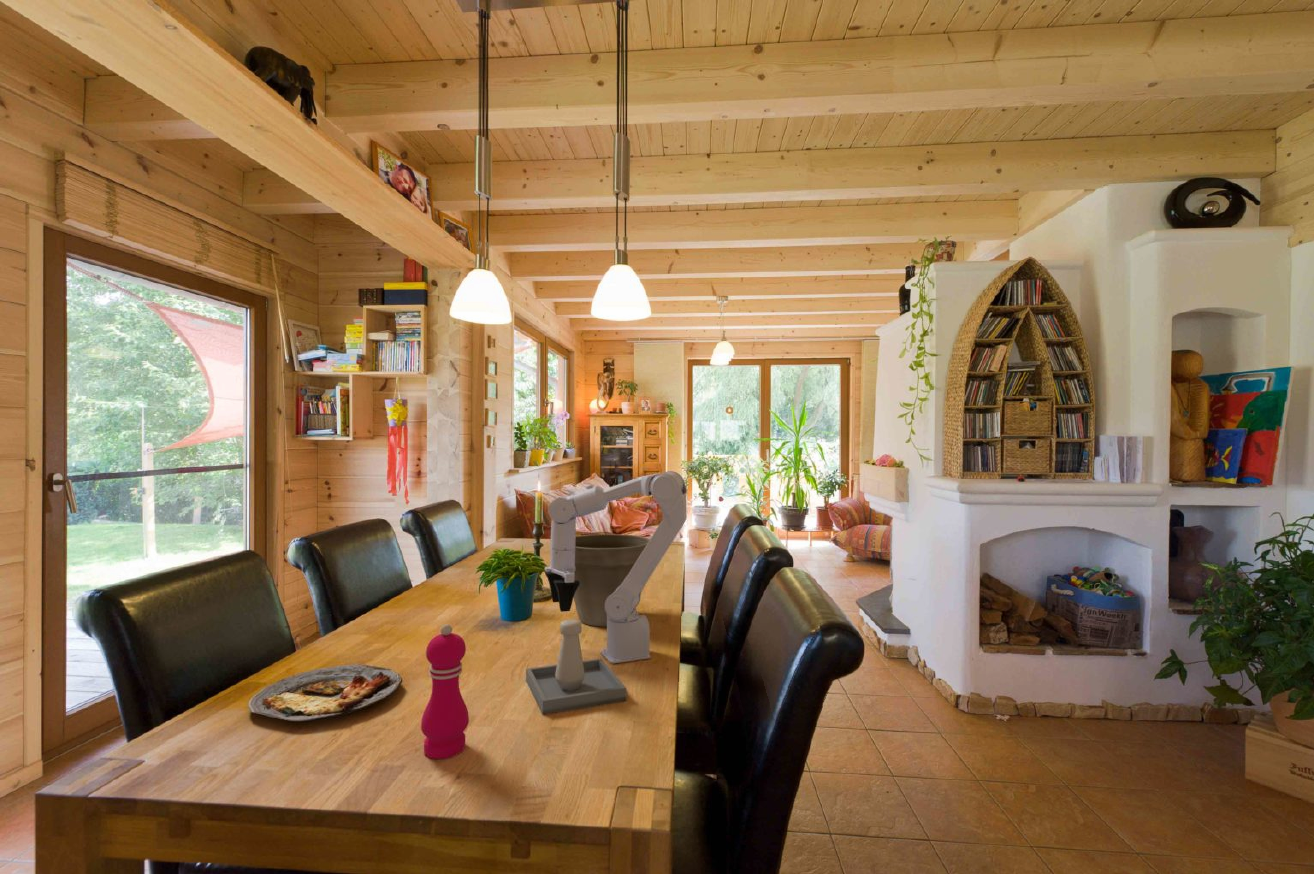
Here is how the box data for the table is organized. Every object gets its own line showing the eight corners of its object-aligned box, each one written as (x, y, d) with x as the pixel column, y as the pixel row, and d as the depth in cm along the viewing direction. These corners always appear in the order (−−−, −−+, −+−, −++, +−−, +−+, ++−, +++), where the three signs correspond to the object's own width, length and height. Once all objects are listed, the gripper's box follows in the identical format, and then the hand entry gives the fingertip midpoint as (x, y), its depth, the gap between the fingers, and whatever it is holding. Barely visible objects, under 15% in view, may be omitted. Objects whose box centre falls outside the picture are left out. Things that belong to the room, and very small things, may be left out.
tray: (600, 669, 130) (601, 658, 130) (626, 700, 115) (626, 687, 115) (525, 680, 123) (526, 668, 123) (542, 714, 109) (542, 700, 109)
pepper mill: (428, 738, 100) (429, 617, 100) (472, 737, 101) (474, 617, 100) (414, 761, 93) (416, 632, 93) (462, 760, 93) (464, 631, 93)
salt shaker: (577, 694, 115) (578, 627, 115) (550, 690, 117) (551, 624, 117) (589, 682, 121) (589, 618, 121) (562, 679, 123) (563, 615, 122)
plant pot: (569, 604, 179) (570, 531, 178) (652, 606, 178) (653, 533, 178) (551, 632, 154) (552, 547, 154) (647, 634, 153) (648, 549, 153)
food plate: (426, 683, 121) (426, 666, 121) (329, 740, 99) (328, 719, 99) (330, 669, 129) (330, 653, 129) (220, 719, 107) (220, 699, 107)
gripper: (539, 543, 146) (537, 599, 146) (553, 555, 132) (551, 616, 132) (567, 541, 148) (566, 596, 149) (584, 553, 135) (582, 614, 135)
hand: (561, 606), depth 141 cm, fingers open, 7 cm apart
